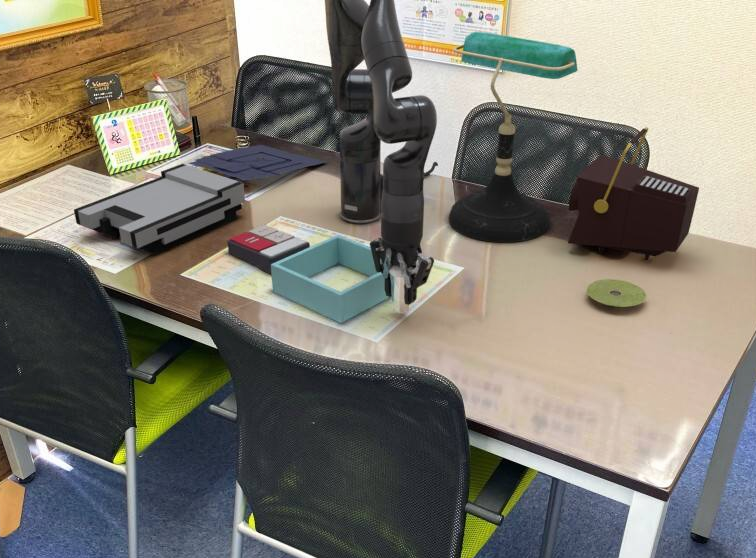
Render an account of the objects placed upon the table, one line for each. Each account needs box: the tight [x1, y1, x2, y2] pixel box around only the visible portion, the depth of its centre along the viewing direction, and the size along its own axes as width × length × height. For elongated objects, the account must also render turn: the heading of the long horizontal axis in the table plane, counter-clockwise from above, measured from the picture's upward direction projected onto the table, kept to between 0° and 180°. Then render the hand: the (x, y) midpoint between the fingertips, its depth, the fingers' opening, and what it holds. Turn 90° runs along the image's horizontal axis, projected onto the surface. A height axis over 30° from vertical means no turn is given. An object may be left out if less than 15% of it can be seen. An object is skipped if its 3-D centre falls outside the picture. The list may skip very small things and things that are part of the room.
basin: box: [270, 234, 390, 324], centre depth 172 cm, size 19×19×6 cm
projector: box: [567, 126, 700, 262], centre depth 181 cm, size 16×23×25 cm
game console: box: [73, 163, 246, 256], centre depth 197 cm, size 21×32×8 cm, turn 141°
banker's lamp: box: [448, 31, 578, 243], centre depth 189 cm, size 26×23×40 cm
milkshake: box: [385, 262, 412, 314], centre depth 161 cm, size 5×5×10 cm
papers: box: [187, 144, 327, 181], centre depth 228 cm, size 24×30×4 cm
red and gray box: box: [226, 224, 311, 275], centre depth 185 cm, size 11×4×15 cm
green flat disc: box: [586, 278, 647, 308], centre depth 169 cm, size 11×11×2 cm
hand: (400, 298), depth 162 cm, fingers closed on milkshake, 4 cm apart
